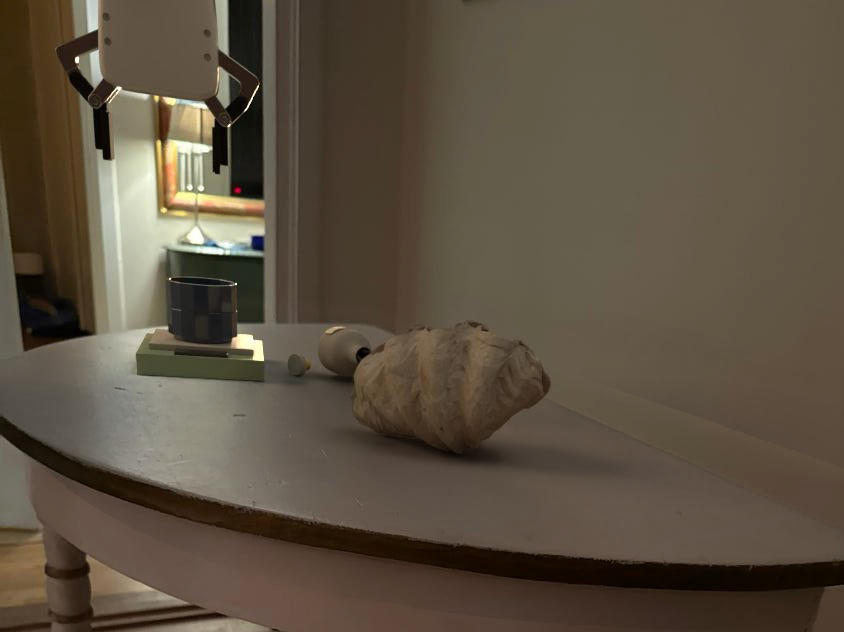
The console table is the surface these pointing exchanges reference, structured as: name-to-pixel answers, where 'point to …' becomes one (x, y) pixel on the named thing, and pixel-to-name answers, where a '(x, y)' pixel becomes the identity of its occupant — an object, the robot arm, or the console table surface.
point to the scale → (200, 358)
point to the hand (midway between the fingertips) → (163, 167)
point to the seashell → (447, 385)
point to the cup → (202, 309)
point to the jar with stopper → (335, 352)
